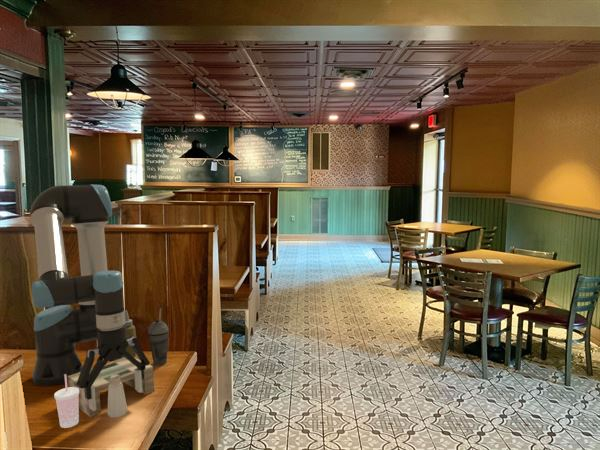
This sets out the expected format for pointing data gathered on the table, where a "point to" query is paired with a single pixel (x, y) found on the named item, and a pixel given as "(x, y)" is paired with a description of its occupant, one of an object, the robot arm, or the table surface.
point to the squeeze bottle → (129, 334)
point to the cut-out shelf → (103, 381)
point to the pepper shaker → (116, 398)
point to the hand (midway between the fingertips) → (116, 399)
